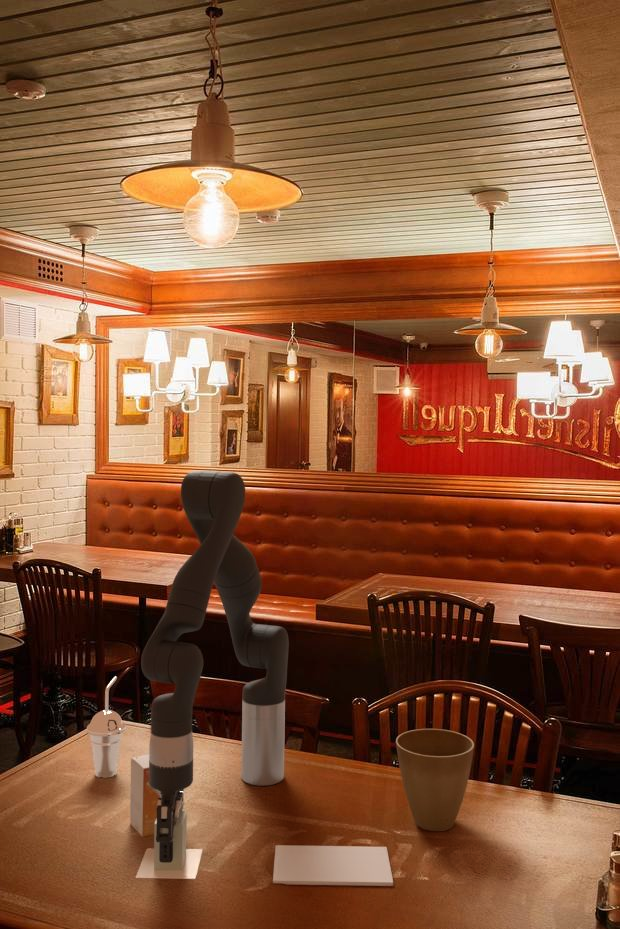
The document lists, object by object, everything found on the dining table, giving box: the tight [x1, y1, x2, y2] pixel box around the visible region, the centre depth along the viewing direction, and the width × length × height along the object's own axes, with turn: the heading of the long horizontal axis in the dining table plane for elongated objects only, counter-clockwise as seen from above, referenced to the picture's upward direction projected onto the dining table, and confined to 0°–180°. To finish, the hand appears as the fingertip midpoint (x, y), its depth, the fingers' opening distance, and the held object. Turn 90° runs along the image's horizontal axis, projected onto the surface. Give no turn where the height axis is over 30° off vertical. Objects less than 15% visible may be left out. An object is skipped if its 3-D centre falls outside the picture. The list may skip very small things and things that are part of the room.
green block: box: [153, 810, 188, 870], centre depth 146 cm, size 5×5×8 cm
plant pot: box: [395, 728, 475, 832], centre depth 163 cm, size 15×15×16 cm
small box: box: [129, 753, 161, 838], centre depth 160 cm, size 8×6×13 cm
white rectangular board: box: [272, 844, 394, 887], centre depth 146 cm, size 12×20×1 cm, turn 90°
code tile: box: [135, 847, 204, 880], centre depth 146 cm, size 10×10×1 cm
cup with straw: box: [85, 675, 127, 779], centre depth 184 cm, size 8×9×20 cm
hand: (170, 849), depth 146 cm, fingers open, 8 cm apart
